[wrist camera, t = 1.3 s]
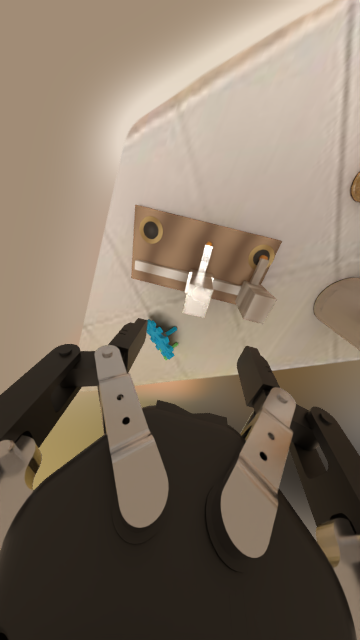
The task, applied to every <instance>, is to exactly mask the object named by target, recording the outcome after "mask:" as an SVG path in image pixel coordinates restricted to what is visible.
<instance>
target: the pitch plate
mask: <svg viewBox="0 0 360 640" xmlns="http://www.w3.org/2000/svg"><path fill="white" fill-rule="evenodd" d="M207 242H211V243H212V246H213V249H212V252H211V255H210V259H209V262H208V266H207V269H206V273H209V274H213V277H214V279H213V282H212V284H213V293H212V296H211V298H212V299H216V300H220V301H224V302H228V303H232V304H236V305H237V306H238V309H239V311H240V313H241V315H242V317H243V319H245V320H249V321H252V322H256V323H260V324H263V323H264V322H265V320H266V318H267V316H268V315H269V313H270V311H271V309H272V308H273V306H274V304H275V302H276V301H277V299H276V298H275V297H274V296H273V295H271V294H270V293H269V292H268V291H267V290H266V289H265V288H264V287H263V286H262V285H261V283H262V281H263V279H264V277H265V275H266V273H267V271H268V269H269V267H270V265H271V263H272V262H273V260H274V257H275V255H276V253H277V251H278V249H279V246H280V244H281V242H282V241H280V240H276V239H272V238H268V237H263V236H259V235H255V234H251V233H247V232H243V231H239V230H235V229H231V228H227V227H223V226H219V225H215V224H211V223H207V222H203V221H199V220H195V219H191V218H187V217H183V216H179V215H175V214H171V213H167V212H163V211H158V210H154V209H150V208H146V207H142V206H138V205H135V220H134V239H133V257H132V276H131V278H133V279H137V280H141V281H145V282H149V283H153V284H157V285H161V286H165V287H169V288H173V289H177V290H181V291H185V288H186V284H187V280H188V276H189V272H190V269H193V270H197V271H199V267H200V263H201V259H202V256H203V252H204V248H205V245H206V243H207Z"/></svg>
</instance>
